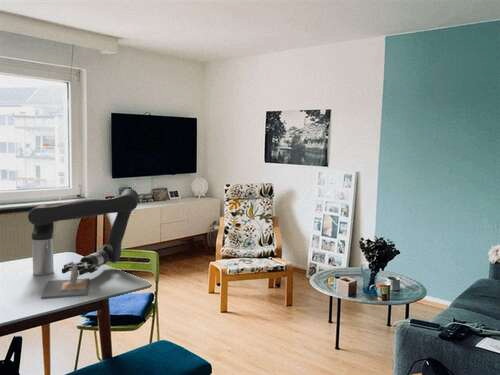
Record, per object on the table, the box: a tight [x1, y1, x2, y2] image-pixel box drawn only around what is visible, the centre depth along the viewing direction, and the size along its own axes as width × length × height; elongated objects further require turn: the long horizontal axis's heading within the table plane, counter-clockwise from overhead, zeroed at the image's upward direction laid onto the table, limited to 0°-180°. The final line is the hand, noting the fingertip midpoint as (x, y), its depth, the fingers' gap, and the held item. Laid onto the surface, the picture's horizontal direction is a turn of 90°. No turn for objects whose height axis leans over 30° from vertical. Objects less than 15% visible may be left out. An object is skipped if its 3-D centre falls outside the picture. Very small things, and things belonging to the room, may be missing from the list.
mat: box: [40, 277, 90, 300], centre depth 200 cm, size 21×18×1 cm
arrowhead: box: [69, 262, 80, 286], centre depth 201 cm, size 8×3×10 cm, turn 177°
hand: (71, 272), depth 199 cm, fingers open, 8 cm apart
